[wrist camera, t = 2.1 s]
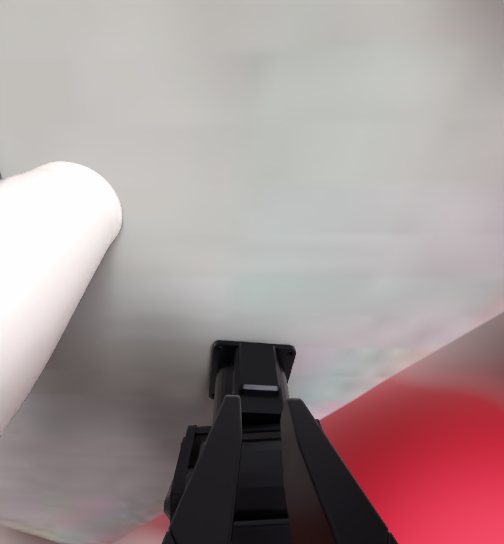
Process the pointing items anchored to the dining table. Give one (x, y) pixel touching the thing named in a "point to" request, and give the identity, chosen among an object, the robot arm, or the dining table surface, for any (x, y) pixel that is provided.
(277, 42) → the dining table surface
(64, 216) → the drinking glass
